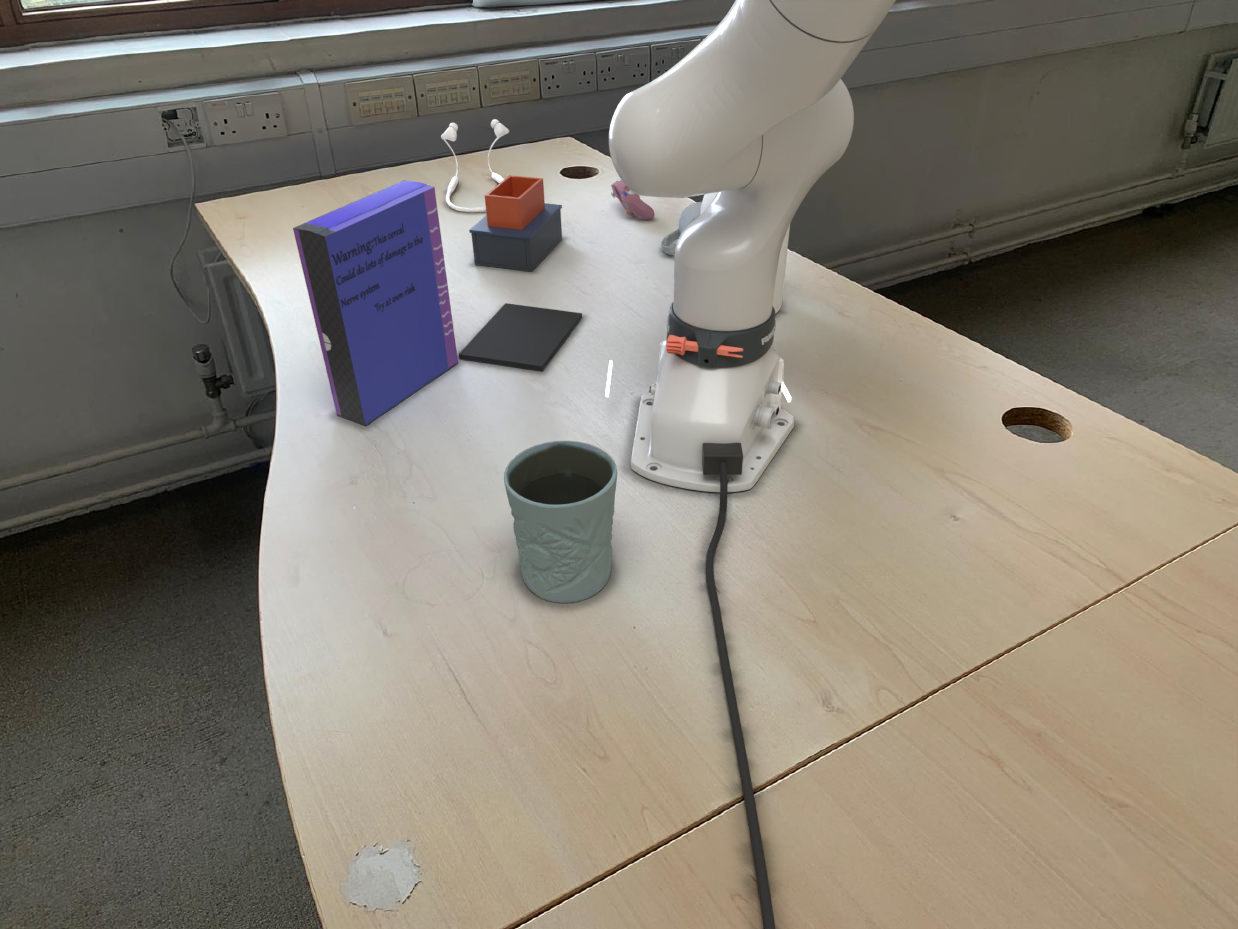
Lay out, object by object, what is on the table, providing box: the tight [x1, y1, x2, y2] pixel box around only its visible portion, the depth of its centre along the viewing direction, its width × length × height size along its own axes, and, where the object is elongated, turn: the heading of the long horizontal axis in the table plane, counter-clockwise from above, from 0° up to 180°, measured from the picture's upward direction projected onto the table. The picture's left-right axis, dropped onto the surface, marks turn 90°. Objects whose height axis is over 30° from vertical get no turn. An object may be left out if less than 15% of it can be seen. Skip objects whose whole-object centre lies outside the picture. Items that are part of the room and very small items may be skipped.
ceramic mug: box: [660, 201, 702, 256], centre depth 147 cm, size 11×8×8 cm
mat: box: [458, 302, 583, 372], centre depth 125 cm, size 16×12×1 cm
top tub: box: [484, 174, 546, 230], centre depth 145 cm, size 10×6×5 cm, turn 163°
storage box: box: [468, 202, 563, 273], centre depth 148 cm, size 14×10×6 cm
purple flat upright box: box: [292, 179, 459, 427], centre depth 108 cm, size 17×5×24 cm, turn 149°
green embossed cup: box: [503, 440, 618, 604], centre depth 83 cm, size 10×10×12 cm
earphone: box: [440, 118, 510, 213], centre depth 170 cm, size 14×17×18 cm
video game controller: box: [610, 179, 655, 221], centre depth 162 cm, size 10×5×7 cm, turn 17°
